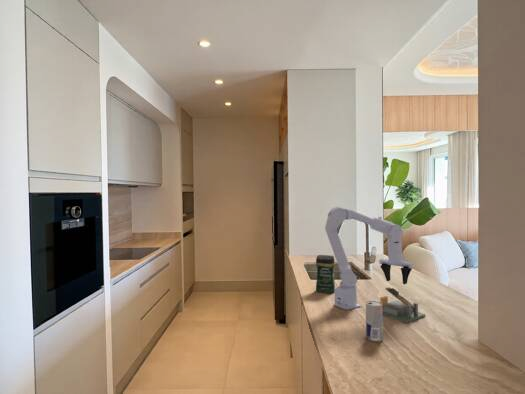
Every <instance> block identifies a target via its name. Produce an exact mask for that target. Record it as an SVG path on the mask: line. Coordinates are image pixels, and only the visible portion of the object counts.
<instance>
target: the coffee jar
mask: <svg viewBox="0 0 525 394" xmlns="http://www.w3.org/2000/svg"><path fill="white" fill-rule="evenodd" d="M335 260H336V259H335V255H327V254H326V255H325V254H318V255H317V256H316V260H315V265H316V282H315V291H317V292H318V293H324V294H332V293H335V289H336V285H335V283H336V282H335V274H334V273H335V272H334V271H335V269H334V268H335V264H336V263H335V262H336V261H335Z"/></svg>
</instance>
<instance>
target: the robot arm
mask: <svg viewBox="0 0 525 394" xmlns="http://www.w3.org/2000/svg"><path fill="white" fill-rule="evenodd" d="M345 220H356V221H358V222H360V223H361V222H362V223H364V224H367V225H368V226H369V227H370V229H371V230H373V231H376V232H379V233H380V234H384V235H387V257H388V258H387V259H386V258H385V259H383V258H381V259H379V263H378V264H379V265H380V268H381V270H382V272H383V275H384V277H385V279H386V282H390V281H391V268H392V267H391V266H394V267H396V266H397V267H401V268H400V271H401V275H402V284H403V285H407V284H408V279H409V276H410V274H411V271H412V269H414V263H413V262H408V261H404V260H403V242H402V236H403V234H404V230H403V229H402V226H401V225H399V224H396V223H394V222H393V221H391V220H390V221H388V220H385V219H383V217H381V216H374V217H369V216H367V215H366V214H365V215H364V214H362V213H360V212H357V211H356V210H353V209H348V208H343V207H341V206H335V207H332V208H331V209H330V211H329V212H328V214H327V218H326V222H325V227H324V230H325V232H326V235H327V238H328V241H329V244H330V246H331V248H332V249H331V250H332V253H333V256H334V259H335V260H336V263H337V266H338V269H339V278H340V280H341V281H340V283H339V286H338V287H335V291H334V303H333V306H336V307H338V308H340V309H342V310H344V311H345V310H346V311H347V310H351V309H355V308H359V307H362V305H361V304H360V303H358V300H357V298H358V296H357V295H358V293H357V291H358V289H357V287H358V286H357V285H358V284H357V283H358V277H357V276H356V274H354V272H353V270H352V268H351V266H350V263H349V261H348V258H347V255H346V253H345V249H344V248H343V244H342V241H341V239H340V236H339V233H338V228H339V226H340V225H341V224H342V223H343V222H344V221H345Z"/></svg>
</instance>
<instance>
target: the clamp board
mask: <svg viewBox="0 0 525 394" xmlns="http://www.w3.org/2000/svg"><path fill="white" fill-rule="evenodd" d="M379 298H380V300H379V302H380V303H381V304H382V309H383V316H386V317H389V318H392V319H395V320H397V321H400V322H403V323H405V324H408V323H411V322H414V321H416V320H419V319H423V318H426V313H423V312H420V311H419V304H418V303H417V302H413V305H415V308H413V309H411V305H407V306H406V305H405V304H404V303H403V302H401V301H400V300H399V299H397V300H394V301H390V302H388V301H389V299H388V298H389V297H388V296H386V295H383V296H380V297H379Z"/></svg>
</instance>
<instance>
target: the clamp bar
mask: <svg viewBox="0 0 525 394" xmlns="http://www.w3.org/2000/svg"><path fill="white" fill-rule="evenodd" d="M385 290H386V291H387V292H388V293H389V294H391V295H392V296H393V297H395V299H397V300H398V301H401V302H403V303H404V304H405V305H406V306H407V305H411V309H413V308H415V305H414V303H412V302H410V301H409V300H407V299H406V298H405V297H403V296H402V295H401V294H400V292H399V291H397V289H395V288H394V287H385Z"/></svg>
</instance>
